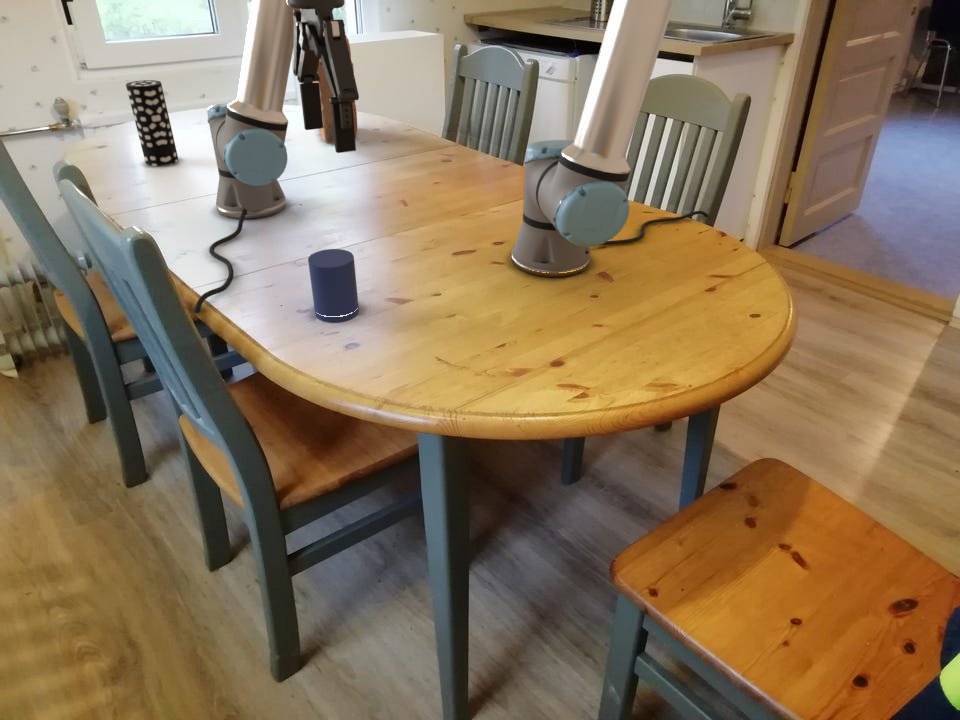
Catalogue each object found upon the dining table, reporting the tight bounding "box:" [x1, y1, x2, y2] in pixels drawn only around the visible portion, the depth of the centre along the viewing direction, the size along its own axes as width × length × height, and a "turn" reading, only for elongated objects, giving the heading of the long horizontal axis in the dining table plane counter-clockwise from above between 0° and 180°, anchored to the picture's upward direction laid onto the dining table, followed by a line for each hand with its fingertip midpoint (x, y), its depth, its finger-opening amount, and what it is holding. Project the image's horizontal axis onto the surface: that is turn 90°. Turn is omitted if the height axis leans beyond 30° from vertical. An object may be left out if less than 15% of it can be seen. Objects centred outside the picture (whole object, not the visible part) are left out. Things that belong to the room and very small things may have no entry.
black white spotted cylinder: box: [125, 79, 179, 167], centre depth 181 cm, size 8×8×20 cm
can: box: [307, 248, 360, 324], centre depth 114 cm, size 7×7×10 cm
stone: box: [313, 34, 358, 145], centre depth 203 cm, size 22×11×28 cm, turn 18°
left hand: (24, 26), depth 114 cm, fingers open, 13 cm apart
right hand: (329, 139), depth 101 cm, fingers open, 13 cm apart
